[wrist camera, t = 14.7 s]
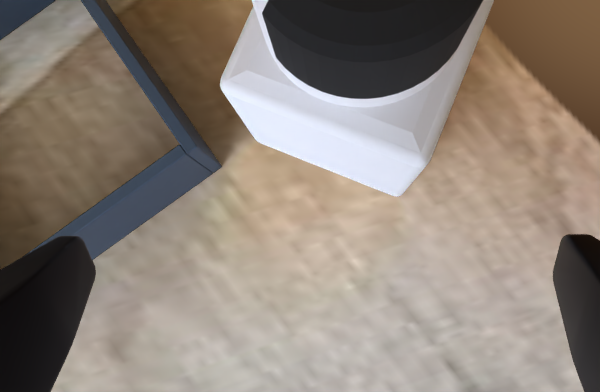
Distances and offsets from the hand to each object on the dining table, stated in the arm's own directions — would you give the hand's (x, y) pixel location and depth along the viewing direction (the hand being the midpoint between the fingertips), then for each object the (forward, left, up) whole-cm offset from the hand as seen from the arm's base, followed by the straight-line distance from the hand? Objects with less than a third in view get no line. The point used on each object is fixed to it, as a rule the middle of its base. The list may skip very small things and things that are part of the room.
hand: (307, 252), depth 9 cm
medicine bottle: (+7, 0, -13) cm, 15 cm away
